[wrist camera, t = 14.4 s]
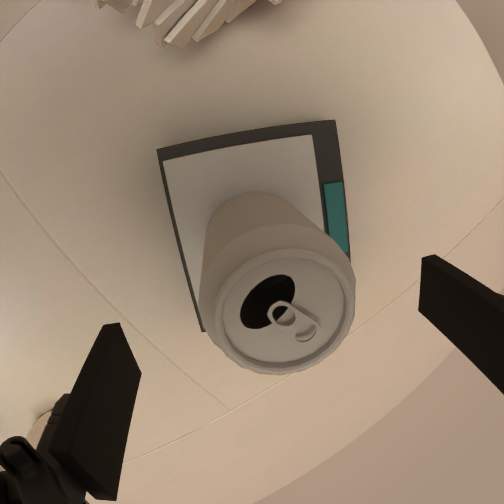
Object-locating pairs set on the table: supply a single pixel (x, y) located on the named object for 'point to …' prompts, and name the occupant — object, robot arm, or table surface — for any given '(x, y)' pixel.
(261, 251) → the can
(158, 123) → the table surface
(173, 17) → the spiral staircase
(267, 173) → the scale
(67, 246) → the table surface
